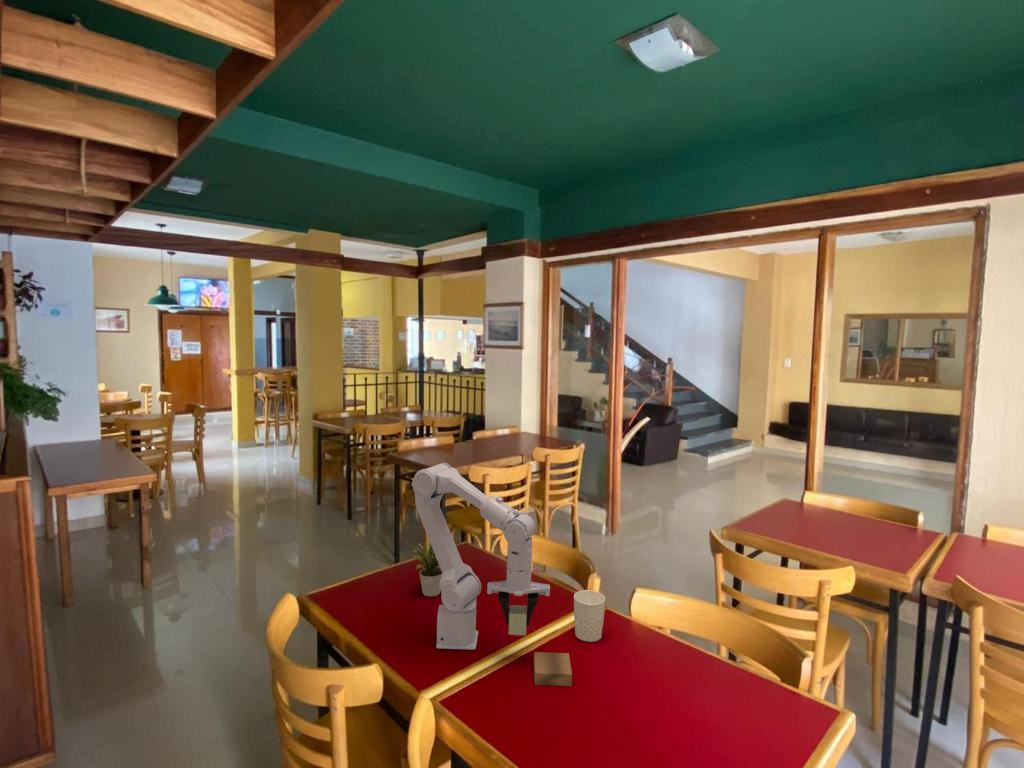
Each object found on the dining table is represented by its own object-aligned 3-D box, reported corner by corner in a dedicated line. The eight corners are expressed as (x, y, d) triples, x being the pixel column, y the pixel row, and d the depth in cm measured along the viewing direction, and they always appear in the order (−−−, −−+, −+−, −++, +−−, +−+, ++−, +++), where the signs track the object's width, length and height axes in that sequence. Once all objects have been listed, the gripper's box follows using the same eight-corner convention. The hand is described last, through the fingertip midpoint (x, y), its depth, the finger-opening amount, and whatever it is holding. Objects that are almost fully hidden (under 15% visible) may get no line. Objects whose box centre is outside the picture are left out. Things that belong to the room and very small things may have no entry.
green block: (508, 634, 123) (509, 613, 122) (509, 625, 127) (509, 605, 126) (525, 635, 123) (526, 614, 122) (526, 626, 127) (526, 605, 126)
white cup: (603, 645, 131) (604, 606, 130) (571, 641, 133) (572, 602, 132) (604, 629, 139) (605, 591, 138) (574, 625, 140) (575, 588, 140)
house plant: (433, 610, 146) (434, 552, 145) (395, 598, 153) (396, 542, 152) (463, 591, 158) (464, 537, 157) (427, 580, 165) (427, 528, 164)
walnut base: (534, 686, 115) (535, 673, 115) (533, 664, 123) (534, 652, 123) (571, 687, 115) (572, 674, 115) (568, 665, 123) (568, 653, 123)
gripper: (486, 572, 120) (485, 631, 121) (551, 575, 119) (549, 633, 120) (489, 560, 127) (487, 615, 128) (549, 562, 126) (548, 617, 127)
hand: (517, 623), depth 125 cm, fingers closed on green block, 4 cm apart
